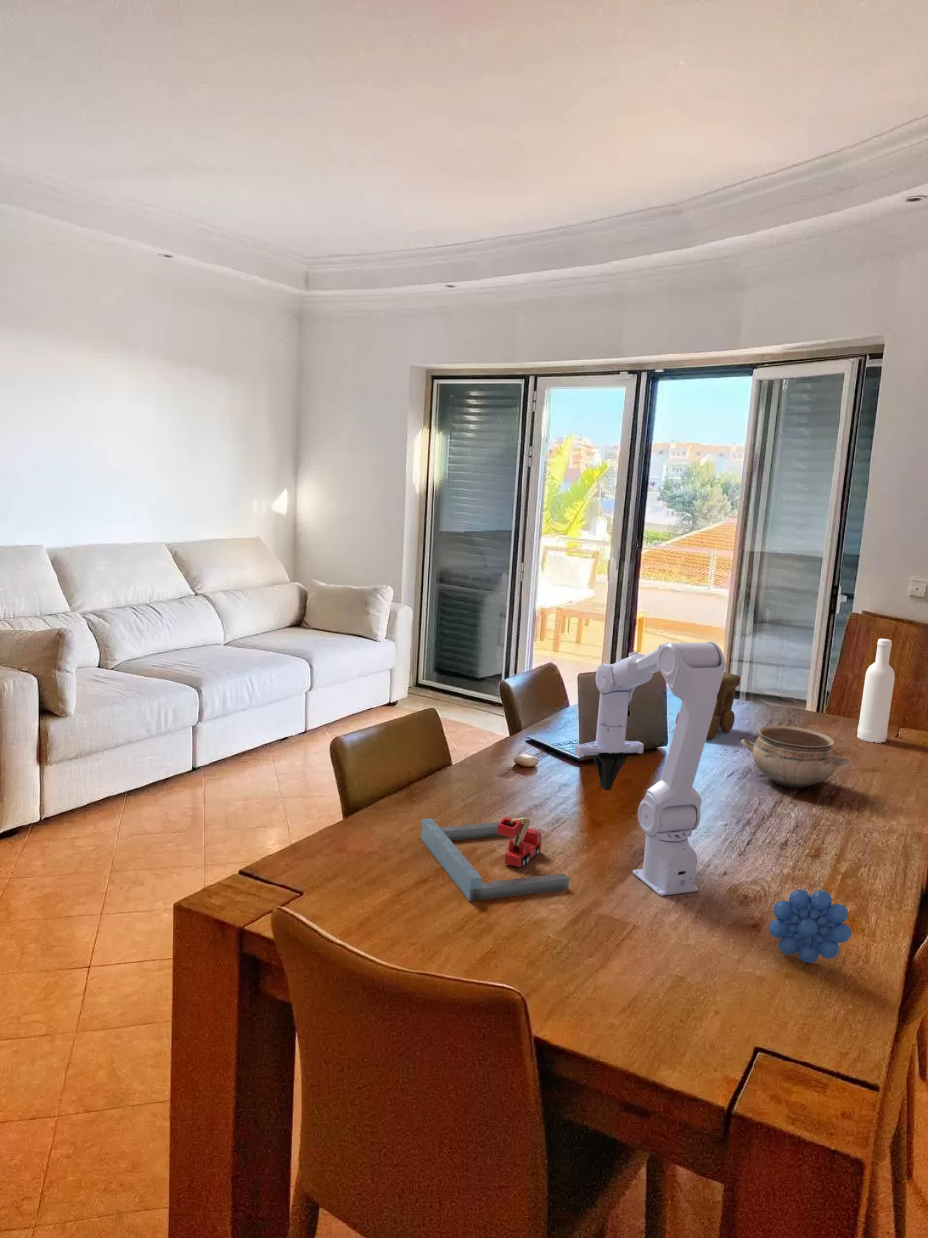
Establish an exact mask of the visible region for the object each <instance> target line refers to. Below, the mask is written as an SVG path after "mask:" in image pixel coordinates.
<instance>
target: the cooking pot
mask: <svg viewBox="0 0 928 1238" xmlns="http://www.w3.org/2000/svg"><path fill="white" fill-rule="evenodd" d="M757 731H758V734H759V736H758V737H757V739H756V740H755V742H751V740H748V739H746V738H743V739H741V741H740V743H741V745H742V746H743V747H745V748H746V749H747V750H748V751H750V752H751V755H752V759H753V761H754V764H755V766H756V768H757V769H758V770H759V772H761V773H763V775H766V776H767V777H768V779H771V780H772V782H775V784H777V785H779V786H781V787H785V788H788V789H802V788H805V787H808V786H812V785H814V784H818V783H820V782H823V781H824V780H826V779H828V777H829V776H830V775H831V774H832V772H833V771H834V769H835V767H841V766H844V765H847V764H848V763H849V762H850V760H849V758H847V757H846V758H844V757H843V758H838V757H835V754H834V753H835V752H834V750H833V747H832V746H833V745H834V744H835V740H834V739H833V738H832V737H831V736H829V735H827V734H825V733H822V732H820V731H817V730H813V729H809V728H803V727H797V726H790V725H789V726H788V725H765V726H762V727H760V728H758V730H757Z"/></svg>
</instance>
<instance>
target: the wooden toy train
mask: <svg viewBox="0 0 928 1238" xmlns="http://www.w3.org/2000/svg"><path fill="white" fill-rule="evenodd" d="M740 682H741V675H738V674H735V673H729V672H725V671H724V675H723V678H722V682H721V685H720V689H719V692H718V694H717V701H716V706H715V710H714V713H713V717H712V720H711V724H710V727H709V730H708V734H707V737H706V739H708V740H713V739H714V738H716V736H717V735H718V732H719V729H720V730H721V732H723V733H725V734H726V733H729V732H730V731H732V729H733V727H734V724H735V718H736V717H735V712H734V711H733V710H732V707H733V705H734V700H735V696H736V695H735V694H736V690H737V689H736V688H738V686H740V685H741V684H740ZM679 712H680V710H678V713H677V715H676V718H675V724H676V723H677V719H678V716H679Z"/></svg>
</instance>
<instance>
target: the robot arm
mask: <svg viewBox="0 0 928 1238" xmlns="http://www.w3.org/2000/svg"><path fill="white" fill-rule="evenodd" d="M726 667H727V663H726V660H725V657H724V655H723V651H722V649H721V647H720V646H719V645H718V644H717V643H716V642H714V641H707V642H676V643H675V642H666V643H663V644H662V643H661V644H659V645H658V648H656V649H655V650H653V651H651V652H649V653H648V654H643V653H639V652H638V651H632V652H629V653H628V657H625V658H618V659H616V662H614V663H610V664H609V663H601V664H600V665H599V666H598V667H597V669H596V672H595V684H596V687H597V689H598V691H599V702H598V712H597V713H598V714H597V724H596V737H595V740H594V741H590V742H586V743H582V744H581V743H580V744H575V746H574V755H575V756H577V757H579V758H584V757H585V756H592V759H593V761H594V763H595V765H596V769H597V772H598V779H599V782H600V783H599V785H600V788H602V790H604V791H611V790H612V789H613V786H614V783H615V781H616V777H617V776H618V774H619V772H620V770H621V768H622V767H623V765H624V764H625V763H626V759H627V757H626V756H625V755H624V754H629V753H630V754H631V753H634V754H635V753H637V754H644V745H645V744H644V743H642V742H641V741H639V740H635V741H633V740H631V741H630V740H626V732H627V723H628V711H629V702H631V701H632V699H633V693H634V691H635V690H636V688H637V687H638V686H641V685H644V684H645V683H648V682H649V681H651V679H652V678H653V676H654V673H658V672H660V673H661V675H662V677H663V679H664V680H665V683H666V684H667V686H668V688H669V689H670V691H671V693H672V695H673V696H674V697H676V698H678V699H680V701H681V706H680V709H679V711H680V712H679V711H678V713H679V716H678V719H677V723H676V722H675V727H674V732H673V735H672V739H671V743H670V745H669V749H668V754H667V757H666V760H665V764H664V768H663V771H662V775H661V779H660V780H659V781H658V782H655V784H653V785H652V786H650V787H649V788H648V789H647V790H646V793H645V795H644V798H643V799H642V800H641V802H640V804H639V806H638V809H637V818H638V823H639V825H640V827H641V829H642V830H643V832H644V833H645V841H644V842H645V844H644V854H643V855H644V856H643V861H642V862H643V865H642V868H639V869H633V870H632V874H633V875H634V876H636V877H637V878H638V879H640V881H642V882H643V883H644V884H646V885H647V886H648V887H649V888H650V889H652V890H653V891H654V892H655V893H656V894H658V895H659V896H669V895H678V894H683V893H685V894H686V893H691V892H693V893H694V892H698V890H699V888H698V887H697V886H696V885H695V884H696V874H697V865H698V856H697V853H696V851H695V849H693V848H692V846H691V844H690V842H689V838H690V837H692V836H693V835H692V833H693V831H695V830H696V829H698V827H699V825H700V822H701V805H702V801H703V799H702V797H701V795H700V794H699V792H698V791H697V790H696V789H695V788H694V787H693V786H694V782H695V779H696V775H697V771H698V768H699V765H700V761H701V757H702V755H703V752H704V747H705V744H706V741H707V738H706V737H707V734H708V730H709V727H710V724H711V720H712V717H713V713H714V710H715V706H716V701H717V694H718V692H719V689H720V685H721V682H722V678H723V675H724V672H725V671H726Z"/></svg>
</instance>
